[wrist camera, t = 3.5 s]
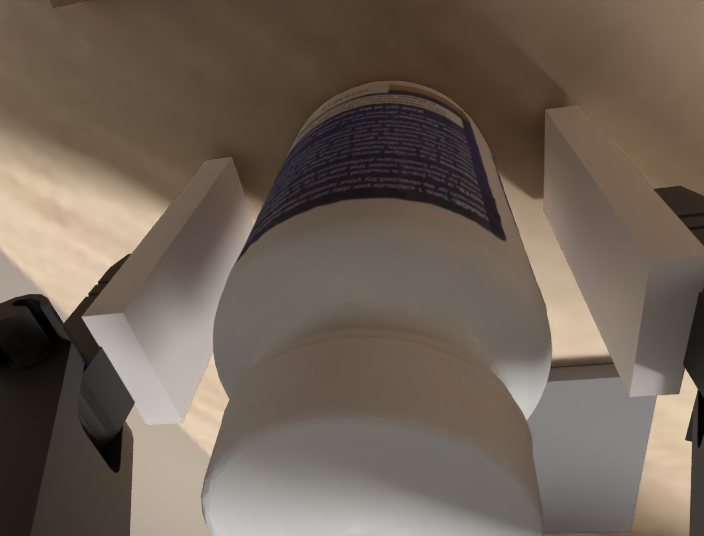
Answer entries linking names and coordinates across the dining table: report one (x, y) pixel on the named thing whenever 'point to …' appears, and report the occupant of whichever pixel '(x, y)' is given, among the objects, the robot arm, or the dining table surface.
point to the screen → (64, 2)
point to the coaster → (589, 449)
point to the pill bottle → (380, 336)
